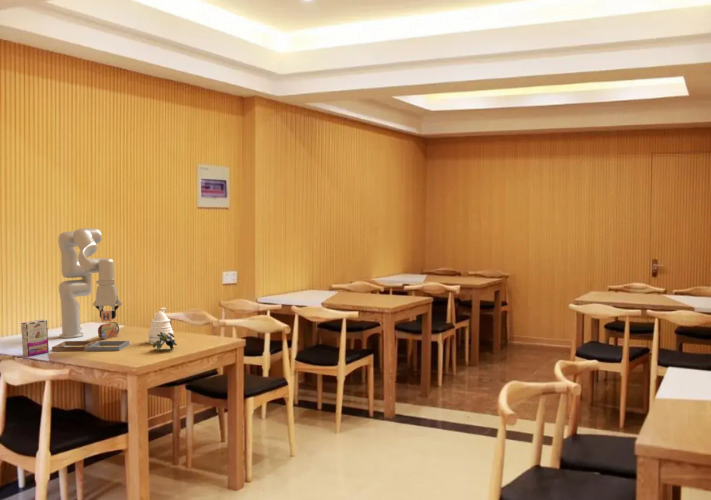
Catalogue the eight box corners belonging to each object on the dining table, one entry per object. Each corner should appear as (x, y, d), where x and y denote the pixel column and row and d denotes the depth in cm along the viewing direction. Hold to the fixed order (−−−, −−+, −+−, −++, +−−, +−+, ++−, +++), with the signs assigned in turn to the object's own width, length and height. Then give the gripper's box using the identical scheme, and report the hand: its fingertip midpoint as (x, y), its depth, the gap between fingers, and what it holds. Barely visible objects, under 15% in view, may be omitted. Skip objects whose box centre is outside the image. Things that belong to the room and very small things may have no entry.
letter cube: (104, 320, 350) (104, 310, 350) (114, 319, 350) (114, 310, 350) (101, 321, 345) (100, 311, 345) (111, 321, 345) (110, 311, 345)
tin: (101, 340, 369) (101, 325, 368) (97, 340, 370) (96, 325, 369) (119, 335, 383) (119, 320, 383) (115, 335, 384) (114, 320, 384)
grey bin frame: (98, 344, 357) (98, 341, 356) (129, 344, 357) (129, 340, 357) (87, 351, 341) (87, 347, 341) (119, 350, 341) (118, 346, 341)
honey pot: (163, 338, 372) (162, 306, 371) (178, 341, 364) (177, 308, 363) (143, 342, 361) (142, 309, 360) (159, 345, 354) (158, 311, 353)
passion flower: (171, 360, 343) (182, 341, 340) (154, 360, 334) (166, 341, 331) (160, 345, 349) (172, 327, 346) (143, 345, 340) (155, 326, 337)
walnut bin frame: (65, 344, 357) (65, 341, 357) (95, 344, 358) (95, 340, 357) (52, 351, 341) (51, 347, 341) (83, 350, 342) (83, 346, 342)
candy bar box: (43, 351, 341) (41, 319, 340) (49, 352, 338) (47, 320, 337) (21, 355, 331) (20, 322, 330) (28, 356, 328) (26, 323, 327)
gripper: (87, 284, 343) (88, 319, 344) (120, 283, 343) (122, 319, 344) (92, 282, 350) (94, 317, 351) (125, 282, 351) (127, 317, 351)
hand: (107, 318), depth 348 cm, fingers closed on letter cube, 5 cm apart
